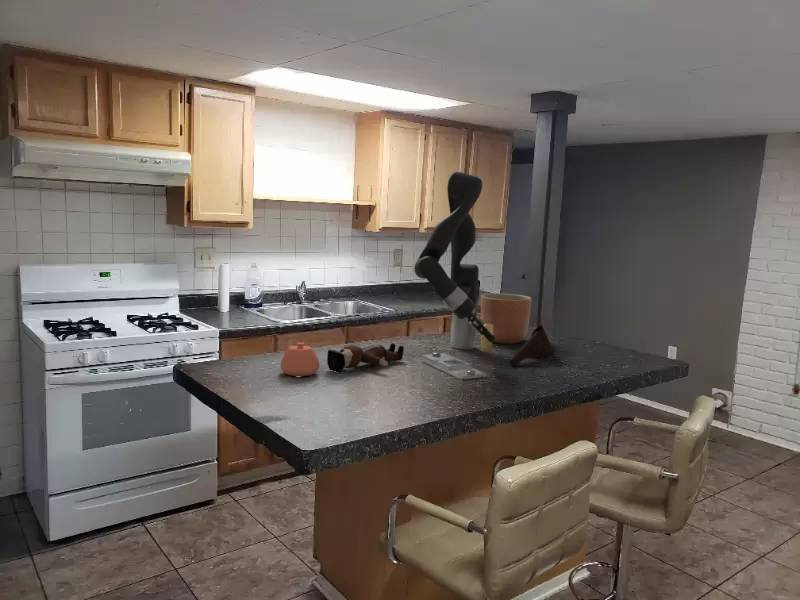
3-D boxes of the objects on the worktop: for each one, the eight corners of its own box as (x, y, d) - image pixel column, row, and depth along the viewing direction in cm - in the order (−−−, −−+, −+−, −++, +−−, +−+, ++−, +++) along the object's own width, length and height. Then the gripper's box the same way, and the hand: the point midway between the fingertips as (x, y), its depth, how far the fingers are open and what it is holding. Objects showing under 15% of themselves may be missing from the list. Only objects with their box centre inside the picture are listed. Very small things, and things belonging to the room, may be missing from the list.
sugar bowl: (296, 381, 195) (297, 348, 193) (269, 372, 204) (269, 341, 203) (327, 374, 204) (327, 343, 202) (299, 366, 213) (300, 336, 212)
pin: (477, 349, 219) (479, 324, 217) (487, 348, 221) (488, 323, 219) (484, 352, 215) (486, 326, 214) (494, 351, 217) (495, 325, 216)
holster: (526, 395, 230) (558, 352, 244) (516, 361, 222) (549, 318, 235) (514, 392, 233) (546, 350, 247) (504, 358, 225) (537, 316, 239)
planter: (468, 339, 269) (471, 295, 266) (499, 334, 283) (502, 292, 280) (508, 348, 254) (510, 301, 251) (538, 342, 268) (541, 298, 265)
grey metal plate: (421, 361, 226) (422, 352, 226) (444, 359, 231) (444, 350, 230) (461, 379, 203) (461, 370, 203) (485, 377, 208) (486, 367, 207)
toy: (423, 351, 218) (358, 351, 197) (419, 378, 219) (354, 382, 197) (376, 338, 235) (311, 337, 213) (372, 363, 236) (308, 365, 214)
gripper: (468, 298, 208) (503, 336, 210) (466, 292, 222) (498, 327, 224) (451, 313, 210) (486, 351, 211) (450, 306, 224) (482, 341, 225)
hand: (492, 339), depth 217 cm, fingers closed on pin, 4 cm apart
